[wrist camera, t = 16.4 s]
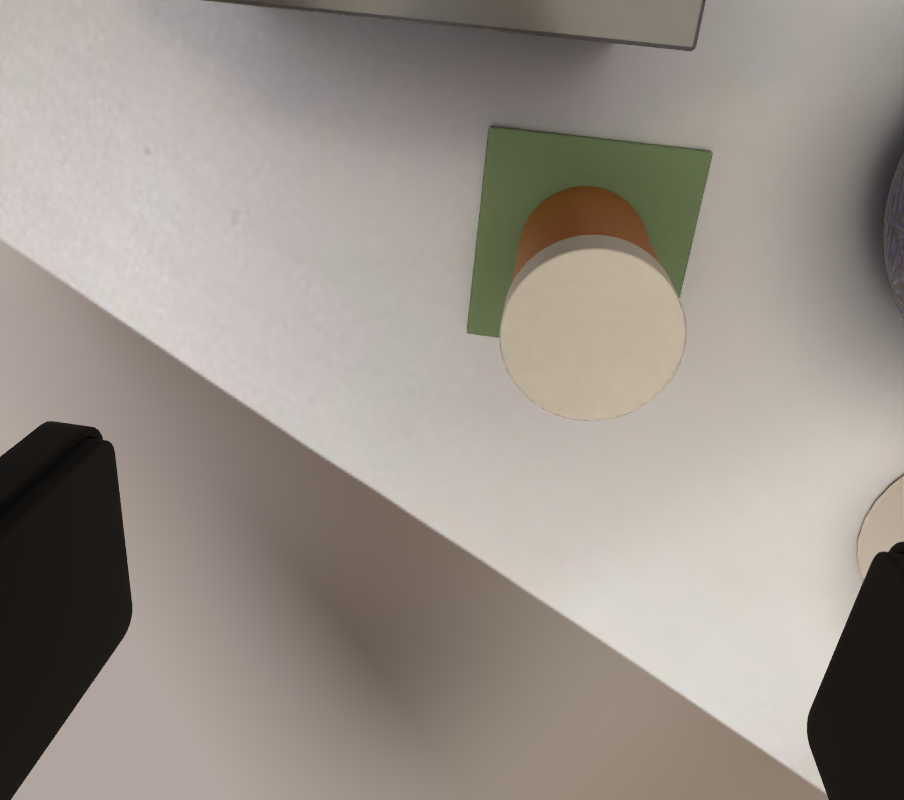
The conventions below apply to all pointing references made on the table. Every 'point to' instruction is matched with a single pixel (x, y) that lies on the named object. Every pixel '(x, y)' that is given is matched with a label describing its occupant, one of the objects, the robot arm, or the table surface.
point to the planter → (895, 235)
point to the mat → (573, 165)
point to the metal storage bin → (533, 17)
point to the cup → (882, 526)
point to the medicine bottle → (590, 309)
